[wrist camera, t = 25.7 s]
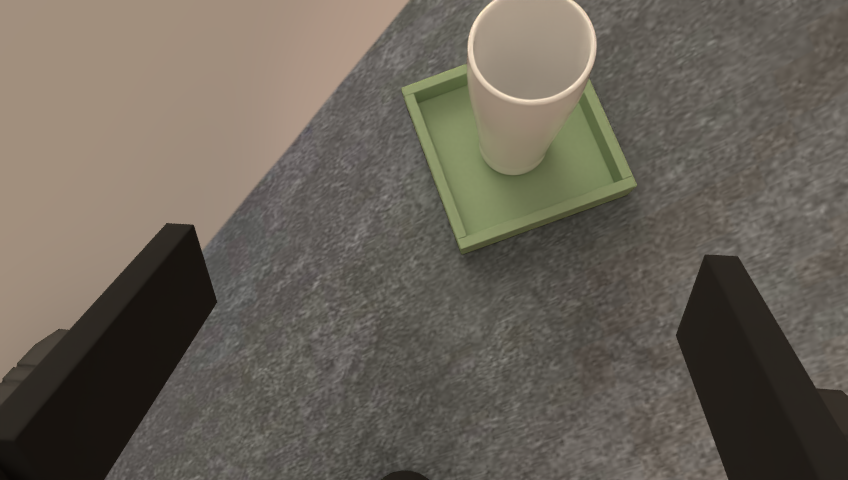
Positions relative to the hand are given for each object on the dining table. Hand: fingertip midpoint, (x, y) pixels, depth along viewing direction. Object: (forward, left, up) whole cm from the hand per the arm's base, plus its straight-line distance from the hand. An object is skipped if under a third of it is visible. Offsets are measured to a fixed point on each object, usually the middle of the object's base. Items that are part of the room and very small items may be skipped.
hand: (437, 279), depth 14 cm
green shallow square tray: (-11, +8, -27) cm, 31 cm away
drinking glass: (-11, +8, -27) cm, 30 cm away
